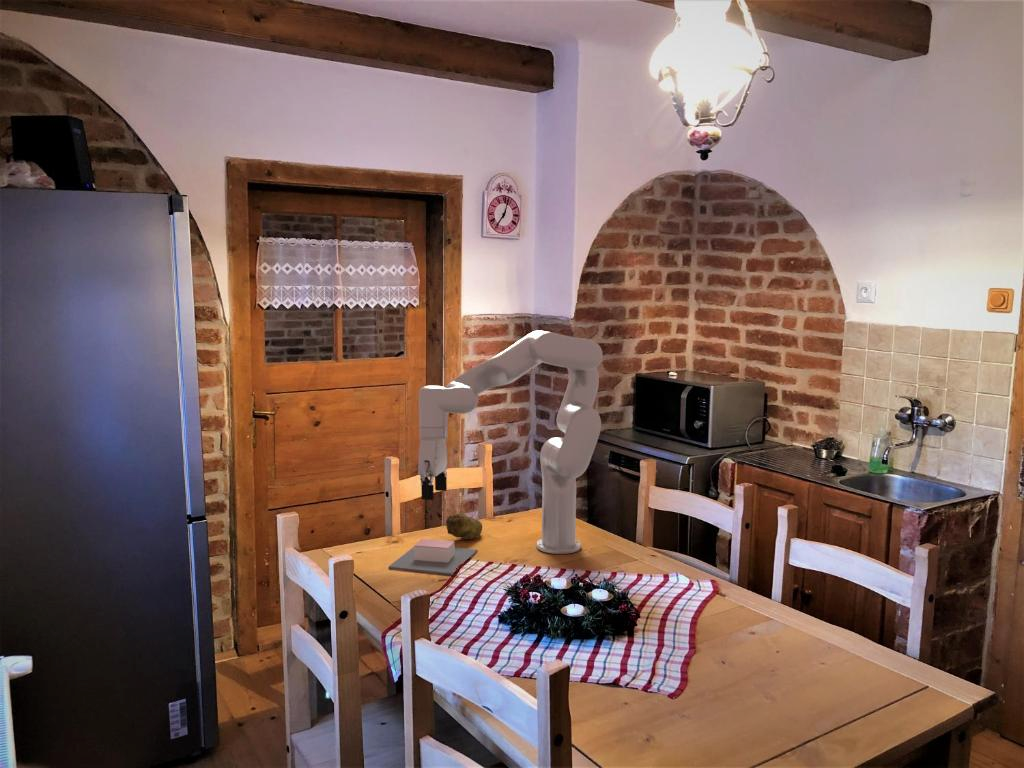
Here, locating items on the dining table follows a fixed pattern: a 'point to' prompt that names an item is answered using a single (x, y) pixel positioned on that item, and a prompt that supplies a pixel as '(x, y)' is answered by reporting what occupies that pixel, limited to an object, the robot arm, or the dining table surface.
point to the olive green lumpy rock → (463, 526)
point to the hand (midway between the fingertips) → (434, 494)
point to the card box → (434, 550)
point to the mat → (432, 562)
